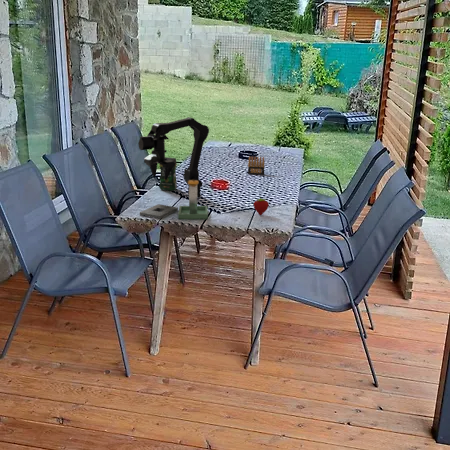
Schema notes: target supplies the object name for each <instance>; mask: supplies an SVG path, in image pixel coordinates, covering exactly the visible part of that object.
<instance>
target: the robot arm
mask: <svg viewBox="0 0 450 450" xmlns="http://www.w3.org/2000/svg"><path fill="white" fill-rule="evenodd" d="M187 127H189V128H190V129H191V130H193V139H194V142H193V145H192V152H191V154H190V155H191V157H190V160H189V166H188V167H187V168H184V170H183V175H182V176H183V180H184V182H185V183H186V185H188V187H187V192H188V194H186V197H187V196H188V197H187V198H189V184H188V181H189V180H198V181H199V184H197V197H198V198H201V197H200V196H202V197H203V195H202V194H201V188H202V187H203V185H204V184H203V182H202V181H201V180H200V171H199V165H200V160H201V155H202V150H203V146H204V143H205V141H206V140H207V138H208V135H209V133H210V128H209V127H208V126H207V125H205V124H202V123H201V122H199V121H197V120H196V119H195V118H193V117H190V116H188V117H186V118H181V119H178V120H174V121H170V122H156V123H153V124H152V125H151V129H150V131H149V132H148V134H147V136H140V137H139V140H138V149H139V151H147V150H151V154H149V155H147V156H144V158H143V162H144V163H145V164H146V165H147V166H148V167H149V169H150V171H151V175H152V177H153V178H154V177H156V175H157V169H158V164H162V166H163V167H162V169H163V170H164V178H165V180H167V178H168V176H169V174H170V172H171V170H172V168H174V167H175V162H174V161H171V160H168V161H165V160H167V158H165V157H166V153H167V150H166V147H165V146H166V143H165V142H166V141H165V140H169V137H168V136H167V134H169V133H170V132H172V131H175V130H179V129H182V128H183V129H184V128H187Z"/></svg>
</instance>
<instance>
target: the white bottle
mask: <svg viewBox="0 0 450 450" xmlns="http://www.w3.org/2000/svg"><path fill="white" fill-rule="evenodd" d="M188 184H189V197H188V206H189V214H197V206H198V198H197V184H199V181H198V180H189V181H188Z"/></svg>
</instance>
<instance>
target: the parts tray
mask: <svg viewBox="0 0 450 450" xmlns="http://www.w3.org/2000/svg"><path fill="white" fill-rule="evenodd" d="M177 214H178V215H177V216H178V217H177V218H178V220H208V219H209V218H208V217H209V215H208V214H209V212H208V205H197V214H189V205H179V207H178V213H177Z"/></svg>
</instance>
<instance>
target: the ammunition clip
mask: <svg viewBox="0 0 450 450" xmlns="http://www.w3.org/2000/svg"><path fill="white" fill-rule="evenodd" d="M247 162H248V163H247V165H248V166H247V175H254V176H255V175H256V176H265V164H266V163H265V156H262V155H261V156H260V157H259V156H257V157H256V155H254V156H253V155H252V156H250V155H249V157H248V161H247Z"/></svg>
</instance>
